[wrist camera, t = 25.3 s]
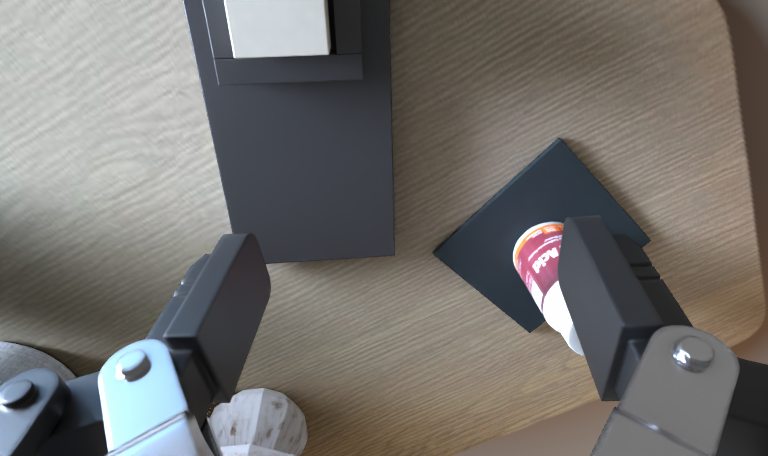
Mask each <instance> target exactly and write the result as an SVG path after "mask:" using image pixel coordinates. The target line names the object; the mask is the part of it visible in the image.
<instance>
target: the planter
mask: <svg viewBox="0 0 768 456" xmlns="http://www.w3.org/2000/svg"><path fill="white" fill-rule="evenodd" d="M36 368H50V369H53V370H54V371H55V372H56V373H57V374H58V375H59V376H60V377H61V378H62V380H63V381H68V380H71V379H75V378H76V376H75V375H74V374H73V373H72V372H71V371H70V370H69V369H68V368H67V367H66V366H65V365H63V364H62V363H60V362H59V361H57V360H56V359H54V358H53V357H51V356H49V355H48V354H45V353H43V352H41V351H38V350H36V349H33V348H30V347H27V346H23V345H19V344H14V343H8V342H0V386H1V385H3V384H4V383H5V382H7V381H8V380H10V379H12V378H13V377H15V376H17V375H19V374H21V373H23V372H26V371H29V370H32V369H36Z"/></svg>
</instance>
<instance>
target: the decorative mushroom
mask: <svg viewBox="0 0 768 456" xmlns="http://www.w3.org/2000/svg"><path fill="white" fill-rule="evenodd" d="M209 420H210V422H211V425H212V428H213V430H214V433H215V435H216V438H217V441H218V443H219V446H220V449H221V451H222V454H223V456H300V455H301V453H302V452H303V450H304V447H305V445H306V442H307V435H308V431H307V426H306V421H305V416H304V414H303V412H302V411H301V410H300V408H299V407H298V406H297V405H296V404H295V403H294V402H293V401H292V400H291V399H290V398H288V397H287V396H286V395H285V394H284V393H281V392H277V391H273V390H270V389H266V388H257V389H247V390H242V391H240V392H239V393H237V394H235V395H233V396H232V399H231V402H230V403H220V404H219V405H218V406H216V407H215V408H214V410H213V412H212V414H211V416H210V419H209Z"/></svg>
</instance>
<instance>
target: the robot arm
mask: <svg viewBox="0 0 768 456" xmlns="http://www.w3.org/2000/svg"><path fill="white" fill-rule="evenodd" d="M558 282H559V287H560V290H561V293H562V296H563V298H564V301H565V304H566V306H567V309H568V312H569V314H570V317H571V320H572V323H573V325H574V328H575V331H576V333H577V336H578V339H579V341H580V344H581V347H582V350H583V352H584V355H585V358H586V360H587V363H588V366H589V369H590V371H591V374H592V377H593V379H594V382H595V385H596V387H597V390H598V393H599V396H600V398H601V401H620V403H619V404H618V406H617V407H614V409H613V411H612V412H611V414H610V416H609V418H608V420H607V422H606V424H605V426H604V428H603V430H602V432H601V434H600V436H599V438H598V441H597V443H596V445H595V447H594V449H593V451H592V453H591V455H590V456H768V365H766V364H762V363H757V362H752V361H748V360H744V359H741V358H738V357H736V356H735V354H734V353H733V351H732V350H731V349H730V348H729V347H728V346H727V345H726V344H725V343H724V342H723V341H721V340H720V339H718V338H717V337H715V336H713V335H712V334H710V333H708V332H705V331H703V330H700V329H697V328H694V327H693V326H692V324H691V322H690V321H689V319H688V318H687V316H686V315H685V313H684V312H683V310H682V309H681V307H680V306H679V304H678V303H677V301H676V300H675V298H674V296H673V295H672V293H671V292H670V290H669V289H668V287H667V286H666V284H665V283H664V281H663V280H662V279H660V275H659V273H658V272H657V270H656V269H655V267H654V266H652V263H651V261H650V260H649V258H648V257H647V255H646V254H645V252H644V250H643V249H642V248H641V247H640V246H639V245H637V244H636V243H635V242H633V241H632V240H630V239H629V238H628V237H626V236H625V235H612V234H611V232H610V231H609V229H608V227H607V226H606V224H605V222H604V221H603V219H602V217H600V216H580V217H567V218H566V219H565V222H564V226H563V233H562V240H561V246H560V253H559V260H558ZM270 292H271V282H270V277H269V273H268V270H267V267H266V264H265V261H264V259H263V256H262V253H261V250H260V247H259V244H258V241H257V238H256V236H255V235H254V234H253V233H244V234H225V235H223V236H222V237H221V238H220V240H219V242H218V243H217V245H216V247H215V249H214V250H213V252H212V254H205V255H204V256H203V257H201V258H200V259H199V260H198V261H197V262H196V263H194V264H193V265H192V266H191V267H190V268H189V270H188V271H187V273H186V275H185V276H184V278H183V279H182V281H181V284H179V286H178V287H177V289H176V291H175V292H174V296H172V297H171V299H170V300H169V302H168V303H167V305H166V307H165V308H164V310H163V311H162V313H161V315H160V316H159V318H158V319H157V321H156V323H155V324H154V326H153V327H152V329H151V331H150V332H149V334H148V335H147V337H146V339H145V340H140V341H137V342H134V343H132V344H129V345H127V346H125V347H124V348H122V349H120V350H119V351H117V352H116V353H115V354H114V355H112V356H111V357H110V358H109V359H108V360H107V362H106V363H105V364H104V365H103V367H102V369H101V371H99V372H96V373H92V374H89V375H85V376H82V377H78V378H75V379H71V380H68V381H63V380H62V378H61V377H60V376H59V375H58V374H57V373H56V372H55V371H54V370H53V369H50V368H36V369H32V370H29V371H26V372H23V373H21V374H19V375H17V376H15V377H13V378H12V379H10V380H8V381H7V382H5V383H4V384H3V385H1V386H0V456H223V454H222V451H221V449H220V446H219V443H218V441H217V438H216V435H215V433H214V430H213V428H212V425H211V422H210V420H209V418H208V416H207V414H208V411H209V409H210V407H211V404H212V403H230V402H231V399H232V396H233V394H234V391H235V388H236V386H237V383H238V380H239V378H240V375H241V372H242V370H243V367H244V364H245V362H246V359H247V356H248V354H249V351H250V348H251V346H252V343H253V340H254V338H255V335H256V332H257V330H258V327H259V324H260V322H261V319H262V316H263V314H264V311H265V309H266V306H267V303H268V301H269V297H270Z"/></svg>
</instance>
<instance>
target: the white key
mask: <svg viewBox="0 0 768 456" xmlns="http://www.w3.org/2000/svg"><path fill="white" fill-rule="evenodd" d="M224 3H225V9H226V15H227V20H228V26H229V32H230V37H231V43H232V49H233V54H234V58H236V59H240V58H265V57H290V56H315V55H329V52H330V48H331V40H330V28H329V15H328V2H327V0H224Z"/></svg>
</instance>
